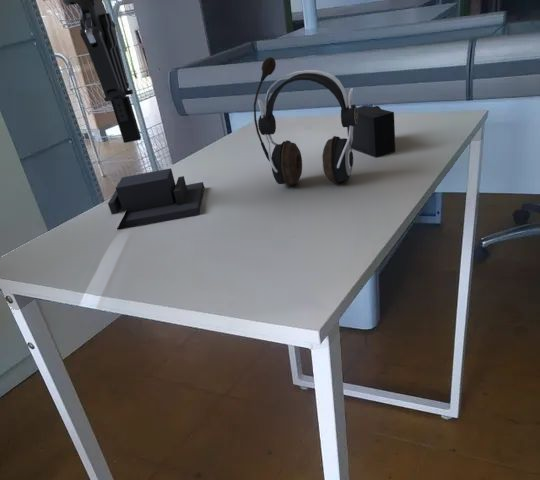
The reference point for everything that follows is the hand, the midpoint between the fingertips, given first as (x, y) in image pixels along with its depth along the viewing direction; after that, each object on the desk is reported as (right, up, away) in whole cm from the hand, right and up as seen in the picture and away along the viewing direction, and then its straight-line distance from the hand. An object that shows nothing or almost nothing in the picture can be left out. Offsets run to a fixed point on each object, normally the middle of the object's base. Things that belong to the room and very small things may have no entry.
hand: (132, 140), depth 91 cm
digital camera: (+43, +4, +14) cm, 45 cm away
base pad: (+2, -10, +7) cm, 12 cm away
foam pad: (+2, -9, +6) cm, 11 cm away
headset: (+31, -6, +3) cm, 31 cm away
